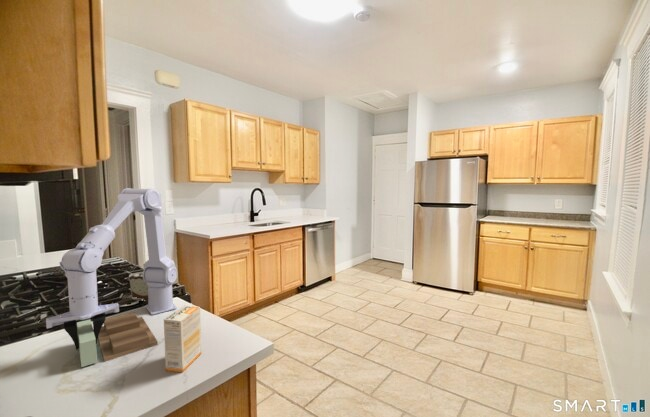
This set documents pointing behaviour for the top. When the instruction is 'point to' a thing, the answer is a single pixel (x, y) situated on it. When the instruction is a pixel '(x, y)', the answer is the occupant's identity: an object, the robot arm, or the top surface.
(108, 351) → the slotted plank
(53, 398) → the top surface
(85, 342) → the sage block
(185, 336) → the supplement box
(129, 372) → the top surface
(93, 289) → the robot arm
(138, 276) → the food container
